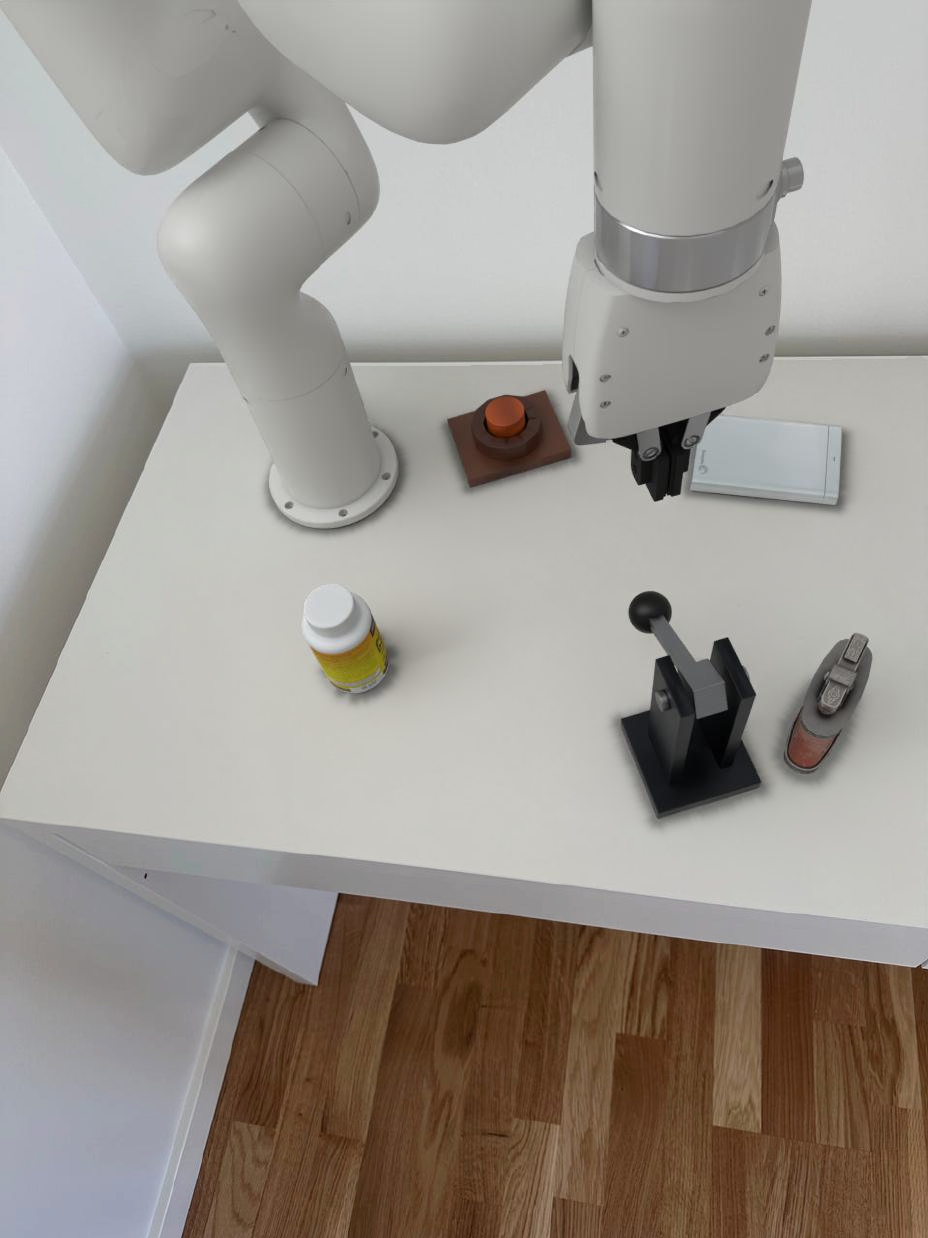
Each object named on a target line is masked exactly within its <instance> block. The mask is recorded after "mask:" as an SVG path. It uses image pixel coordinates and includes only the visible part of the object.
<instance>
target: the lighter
mask: <svg viewBox="0 0 928 1238" xmlns="http://www.w3.org/2000/svg"><path fill="white" fill-rule="evenodd" d="M869 642H870V639H869V637H868V636H867V635H865V634H863V633H860V632H853V633H852V634H851V635H850V637H849V638H845V639H841V640H838V641H837V642H836V643H835V644H834V645H833V647H832V648H831V649H830V651H828V652H827V654H826V655H825V656H824V658H823V659H822V660H821V662H820V665H818V667H817V669H816V671H815V673H814V675H813V676H812V679H811V681H810V683H809V686H808V689H807V691H806V693H805V697H804V699H803V702H802V705H800V707H799V709H798V711H797V712H796V713H795V717H794V719H793V720H792V721H793V722H792V724H791V726H790V729H789V731H788V734H787V738H786V742H785V745H784V751H783V760H784V763H785V765H786V766H787V767H788V768H789V769H790V770H791V771H793V772H795V773H797V774H801V775H810V774H813V773H815V772H816V771H817V770H818V769H819V768H820V767H821V766H822V764H823V763H824V762H825V760H826V759H827V757H828V756H829V755H830V753H831V751H832V750H833V748H834V746H835V744H836V743H837V741H838V739H839V738H840V736H841V734H842V732H843V730H844V729H845V727H846V726H847V723H848V722H849V720H850V718H852V715H853V713H854V711H855V710H856V708H857V707H858V704H859V703H860V701H861V699H862V698H863V696H864V692H865V689H866V687H867V684H868V682H869V678H870V673H871V668H872V664H873V653H872V651H871V649H870V647H868V645H869Z"/></svg>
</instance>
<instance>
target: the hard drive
mask: <svg viewBox="0 0 928 1238" xmlns="http://www.w3.org/2000/svg"><path fill="white" fill-rule="evenodd" d="M842 439H843V425H836V424H826V423H815V422H814V423H811V422H802V421H792V420H782V419H771V418H757V417H747V416H746V417H745V416H735V415H726V414H725V415H724V414H719V415H718V416H717V417H716V418H715V419H714V420H713V421H712V422H711V423H710V424H708V425H707V426H706V428H705V431H704V434H703V437H702V440H701V442H700V443H699V444H698V445H697V446H695V452H694V459H693V467H692V474H691V480H690V486H689V487H690V488H689V491H693V492H701V493H702V492H703V493H713V494H723V495H731V496H741V497H751V498H761V499H770V500H771V499H772V500H780V501H781V500H782V501H790V502H792V501H793V502H802V503H812V504H821V505H830V506H836V505H837V503H838V501H839V495H840V481H841V480H840V479H841V460H842V441H843V440H842Z"/></svg>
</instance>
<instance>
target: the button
mask: <svg viewBox="0 0 928 1238" xmlns="http://www.w3.org/2000/svg"><path fill="white" fill-rule="evenodd" d="M485 415H486V421H487V427H488V430H489V431H490V432H491V434H493V435H494V436H496V437H499V438H510V437H513V436H516V435H517V434H519V433H520V432H521V431H522V430H523V428H524V426H525V412H524V406H523V404H522V403H521V402H520V401H519V400H518V399H516V398H513V397H500V398H497V399H495V400H493V401H492V402H491V403H490V404H489V405H488V406H487V408H486V411H485Z"/></svg>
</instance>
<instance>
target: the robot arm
mask: <svg viewBox="0 0 928 1238" xmlns="http://www.w3.org/2000/svg"><path fill="white" fill-rule="evenodd" d="M812 3H813V0H0V10H1V12H2V13H3V14H4V15H5V17H6V18H7V19H8V21H9V22H10V24H11V25H12V27H13V29H15V31H16V33H17V34H18V35H19V36H20V38H21V39H22V40H23V42H24V43H25V45H26V46H27V47H28V49H29V50H30V52H31V53H32V55H33V56H34V57H35V59H36V60H37V62H39V64H40V65H41V67H42V68H43V70H44V72H45V73H46V74H47V75H48V77H49V78H50V80H51V81H52V82H53V84H54V85H55V87H56V88H57V89H58V91H59V92H60V94H62V96H63V97H64V99H65V101H67V103H68V104H69V106H70V107H71V109H72V110H73V111H74V112H75V114H76V115H77V117H78V118H79V119H80V121H81V122H82V123H83V124H84V126H85V127H86V129H87V130H88V131H89V132H90V134H91V135H92V136H93V138H94V139H95V140H96V141H97V142H98V144H99V145H100V146H101V147H102V148H103V149H104V151H105V152H106V154H108V155H109V156H110V157H111V158H112V159H113V160H114V161H115V162H116V163H117V164H118V165H119V166H121V167H123V168H124V169H125V170H127V171H129V172H130V173H132V174H135V175H138V176H143V177H144V176H145V177H147V176H155V175H156V176H157V175H159V174H162V173H165V172H167V171H169V170H171V169H172V168H175V167H176V166H178V165H179V164H181V163H182V162H183V161H185V160H186V159H188V158H189V157H191V156H192V155H193V154H195V153H196V152H198V151H199V150H200V149H202V148H203V147H204V146H206V145H207V144H208V143H209V142H211V141H212V140H213V139H215V138H216V137H217V136H219V135H220V134H221V133H222V132H224V131H225V130H226V129H227V128H228V127H230V126H231V125H232V124H234V123H235V122H236V121H238V120H239V119H240V118H241V117H243V116H244V115H246V113H247V114H248V115H249V116H250V117H251V119H252V120H253V121H254V123H255V124H256V126H257V127H258V128H259V129H257V131H256V132H254V133H253V134H252V135H250V136H249V137H248V138H247V139H246V140H244V141H243V142H242V143H240V144H239V145H238V146H237V147H235V148H234V149H233V150H232V151H229V152H228V153H227V154H226V155H224V156H223V157H222V158H221V159H220V160H218V161H217V162H215V164H213V165H212V166H211V167H210V168H208V169H207V170H206V171H205V172H203V173H202V174H201V175H200V176H198V177H197V178H196V179H195V180H194V181H192V182H191V183H190V184H189V185H188V186H187V187H186V188H184V189H183V190H182V191H181V192H180V193H179V194H178V196H177V197H176V198H174V200H173V201H172V202H171V204H170V205H168V208H167V209H166V211H165V212H164V214H163V216H162V218H161V219H160V222H159V225H158V228H157V231H156V232H157V233H156V250H157V255H158V258H159V261H160V263H161V265H162V267H163V269H164V271H165V273H166V274H167V276H168V278H169V279H170V281H171V282H172V284H173V285H174V287H175V288H176V289H177V291H178V292H179V293H180V295H182V297H183V298H184V300H185V301H186V302H187V303H188V305H189V306H190V308H191V309H192V310H193V312H194V313H195V315H196V316H197V318H198V319H199V320H200V321H201V323H202V325H203V326H204V327H205V329H206V331H207V332H208V334H209V336H210V337H211V339H212V341H213V342H214V344H215V346H216V347H217V349H218V351H219V353H220V356H221V357H222V360H223V361H224V363H225V365H226V367H227V369H228V372H229V373H230V375H231V377H232V379H233V382H234V384H235V385H236V388H237V390H238V392H239V393H240V395H241V398H242V400H243V402H244V404H245V406H246V408H247V410H248V412H249V414H250V416H251V419H252V420H253V423H254V424H255V426H256V430H257V431H258V434H259V435H260V437H261V439H262V441H263V443H264V445H265V448H266V449H267V452H268V454H269V456H270V458H271V460H272V464H271V466H270V469H269V476H268V488H269V491H270V495H271V497H272V500H273V502H274V503H275V506H276V507H277V509H278V510H279V511H280V512H281V513H282V514H283V515H284V516H285V517H286V518H288V519H289V520H290V521H292V522H294V523H296V524H298V525H300V526H303V527H307V528H311V529H312V528H313V529H324V530H326V529H335V528H341V527H344V526H345V527H346V526H349V525H352V524H354V523H356V522H359V521H361V520H364V519H365V518H366V517H368V516H370V515H371V514H374V512H376V511H377V510H378V509H379V508H380V507H381V506H382V505H383V504H384V503H385V502H386V501H387V499H388V498H389V497H390V496H391V494H392V492H393V491H394V488H395V486H396V483H397V481H398V477H399V467H400V465H399V460H398V455H397V451H396V450H395V446H394V445H393V443H392V441H391V440H390V438H389V437H388V436H387V435H386V434H385V433H384V431H382V430H381V429H378V428H377V427H375V426H374V425H372V424H371V423H370V420H369V418H368V414H367V411H366V408H365V405H364V402H363V398H362V396H361V392H360V389H359V386H358V383H357V380H356V378H355V373H354V370H353V368H352V365H351V361H350V358H349V355H348V352H347V350H346V346H345V343H344V340H343V337H342V334H341V331H340V328H339V326H338V324H337V321H336V319H335V318H334V316H333V314H332V313H331V311H330V310H329V309H328V308H327V307H326V306H325V305H324V304H323V302H321V301H320V300H318V299H316V298H315V297H313V296H311V295H309V294H308V293H305V292H303V291H302V290H301V289H302V287H303V285H304V284H305V282H306V281H307V280H308V279H309V278H310V277H311V276H312V275H314V274H315V272H316V271H318V270H319V269H320V267H321V266H322V265H323V264H324V263H325V262H326V261H328V259H329V258H331V257H332V256H333V255H334V254H335V253H336V252H337V251H338V250H340V249H341V247H343V246H344V245H345V244H346V243H347V242H348V241H349V240H351V238H353V236H354V235H355V234H356V233H358V232H359V231H360V230H361V229H362V228H363V227H364V225H366V223H368V222H369V220H370V219H371V218H372V217H373V215H374V213H375V211H376V209H377V207H378V204H379V201H380V195H381V184H380V183H381V182H380V176H379V172H378V168H377V165H376V163H375V160H374V157H373V155H372V152H371V150H370V147H369V146H368V143H367V142H366V139H365V138H364V135H363V134H362V132H361V129H360V128H359V126H358V124H357V122H356V120H355V119H354V117H353V114H352V112H351V111H350V109H349V107H348V106H350V107H351V108H352V109H354V110H355V111H357V113H359V114H361V115H362V116H364V117H365V118H367V119H369V120H370V121H372V122H373V123H375V124H377V125H378V126H380V127H382V128H383V129H385V130H387V131H389V132H391V133H393V134H396V135H398V136H401V137H403V138H405V139H408V140H411V141H413V142H417V143H421V144H427V145H451V144H452V145H453V144H456V143H459V142H463V141H466V140H468V139H471V138H474V137H475V136H477V135H479V134H481V133H482V132H484V131H486V130H487V129H488V128H489V127H490V126H492V125H493V124H494V123H495V122H496V121H498V120H500V118H501V117H503V116H504V115H505V114H506V113H508V112H509V111H510V110H511V109H512V108H513V107H514V106H515V105H516V104H517V103H518V102H519V101H521V99H523V98H524V96H526V95H527V94H528V93H529V92H530V91H531V90H532V89H533V88H534V87H535V86H537V84H538V83H540V82H541V81H542V80H543V79H544V78H545V77H546V76H547V75H548V74H550V72H552V70H553V69H555V68H556V67H557V66H558V65H559V64H560V63H562V62H563V61H564V60H565V59H566V58H568V57H571V56H574V55H576V54H578V53H580V52H582V51H585V50H587V49H590V48H592V114H593V115H592V122H593V123H592V130H593V132H592V133H593V136H592V138H593V141H592V144H593V231H592V232H589V233H587V234H584V235H582V237H580V239H579V240H578V242H577V245H576V248H575V250H574V251H575V252H574V255H573V258H572V263H571V268H570V271H569V277H568V283H567V289H566V297H565V304H564V313H563V324H562V325H563V327H562V340H561V341H562V342H561V343H562V344H561V372H562V374H561V375H562V379H563V383H564V387H565V390H566V392H567V394H568V395H571V394H574V393H575V396H574V399H573V403H572V406H571V410H570V414H569V417H568V421H567V424H566V428H567V430H568V432H569V435H570V437H571V439H572V441H573V443H574V444H575V446H579V447H580V446H581V447H582V446H589V445H590V446H591V445H595V444H597V445H598V444H606V442H607V441H612V443H614V444H615V445H618V446H619V447H620V446H621V447H623V448H625V449H628V450H630V470H631V474H632V476H633V478H634V481H635V483H636V484H637V486H643V485H645V486H646V489H647V490H648V493H649V495H650V497H651V499H652V501H653V502H654V503H656V502H660V501H663V500H664V498H665V497H666V496H667V497H668V496H670V497H671V498H674V497H677V496H679V495H681V494H682V486H683V479H684V473H687V472H688V471H689V467H690V458H691V451H692V449H694V448H696V446H697V445H698V444H699V443H700V442H701V440H702V437H703V434H704V431H705V428H706V426H707V425H708V424H710V423H711V422H712V421H713V420H714V419H715V418H716V417H717V416H718V415H722V413H723V412H724V411H725V410H726V409H727V407H730V406H733V405H735V404H738V403H741V402H743V401H745V400H748V399H750V398H752V397H753V396H755V395H756V394H758V393H759V392H760V391H761V390H762V389H763V388H764V386H765V385H766V383H767V381H768V379H769V377H770V374H771V369H772V367H773V363H774V359H775V356H776V355H775V354H776V348H777V344H778V336H779V330H780V329H779V328H780V319H781V308H782V257H781V256H782V255H781V254H782V253H781V243H780V233H779V229H778V226H777V224H776V222H775V217H776V213H777V208H778V203H779V201H780V200H781V199H783V198H785V197H786V196H787V194H789V193H793V192H796V191H799V190H801V189H802V187H803V185H804V181H805V171H804V167H803V164H802V162H801V160H800V158H798V157H796V156H793V157H790V158H787V159H784V155H785V149H786V143H787V138H788V132H789V127H790V122H791V118H792V117H791V116H792V110H793V106H794V100H795V95H796V90H797V83H798V78H799V74H800V69H801V62H802V57H803V52H804V47H805V41H806V35H807V30H808V26H809V20H810V15H811V8H812ZM783 159H784V160H783Z"/></svg>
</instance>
